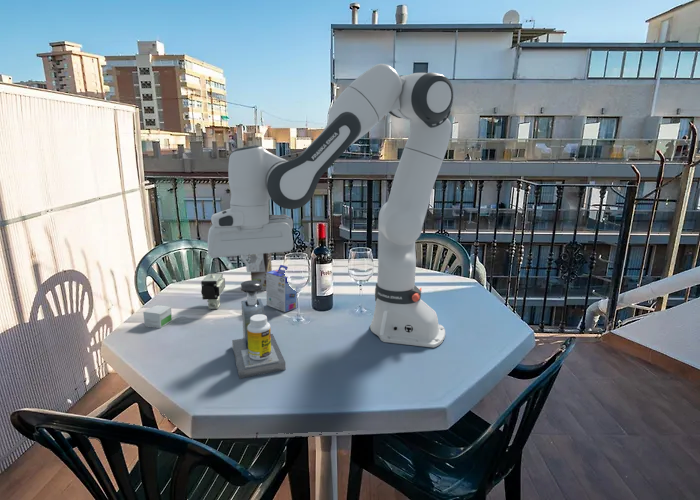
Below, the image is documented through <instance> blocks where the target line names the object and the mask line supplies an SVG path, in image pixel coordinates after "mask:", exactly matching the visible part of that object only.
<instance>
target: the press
mask: <svg viewBox="0 0 700 500" xmlns="http://www.w3.org/2000/svg"><path fill="white" fill-rule="evenodd" d="M240 303H241V317H242V318H241V319H242V320H241V321H242V335H243V337H242V338H238V339H232V340H231V342H232V343H231V344H232V350H233V355H234V361H235V364H236V365H235V366H236V368H237V369H236V370H237V373H238V374H237V375H238V378H239V379H240V380H241V379H244V378H249V377H255V376H261V375H263V374H271V373H274V372H275V373H276V372H280V371H284V370H286V368H287V367H286V360H285V359H284V356H283V354H282V351H281V349H280V347H279V345H278V343H277V341H276V338H275V336H274V333H271V354H270V356H269V357H268V358H266V359H262V360H254V359H251V358H250V357H249V354H248V334H247V327H248V325H249V324H250V318H251V317H252V316H253V315H257V314H263V315H265V313H264V312H265V311H264V310H265V309H264V308H265V307H264V306H265V305H264V303H263V301H262V300H261V298H257V305H254V306H248V302H247V299H245V300H241V302H240Z"/></svg>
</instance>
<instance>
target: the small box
mask: <svg viewBox="0 0 700 500" xmlns="http://www.w3.org/2000/svg"><path fill="white" fill-rule="evenodd" d="M142 314H143V321H144V323H143V324H144V327H147V326H149V327H148V328H155V327H156V329H161V328H162V327H164V326H166V325H167V324H169V323H170V322H173V314H172V307H171V306H167V305H161V304H160V305H158V304H155V305H154V306H151V307H149V308H148V309H146V310H143V313H142Z"/></svg>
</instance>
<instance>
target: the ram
mask: <svg viewBox="0 0 700 500" xmlns="http://www.w3.org/2000/svg"><path fill="white" fill-rule="evenodd" d="M240 289H241V290H240V291H241V292H243V293H246V296H247V297H246V300H247V302H248V306H254V305H257V299H258V298H257V296H258V295H257V292H259V291H262V290H261V289H262V283H261V282H260V281H257V280H251V279H250V280H245V281H242V282H241V283H240Z"/></svg>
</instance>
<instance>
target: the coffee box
mask: <svg viewBox="0 0 700 500" xmlns="http://www.w3.org/2000/svg"><path fill="white" fill-rule="evenodd" d="M249 256H250V257H249V259H250V263H255V262H256V260H257V258H258V257H257V256H256V254H252V255H249ZM272 265H273V264H272V253H264V254H263V259H262V261H261V263H260V265H259V271H255V272H250V278H251V279H250V280H257V281H260V282H261V283H262V289H261V290H260V291H266V273H267V272H270V271H273V268H272V267H273V266H272Z"/></svg>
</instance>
